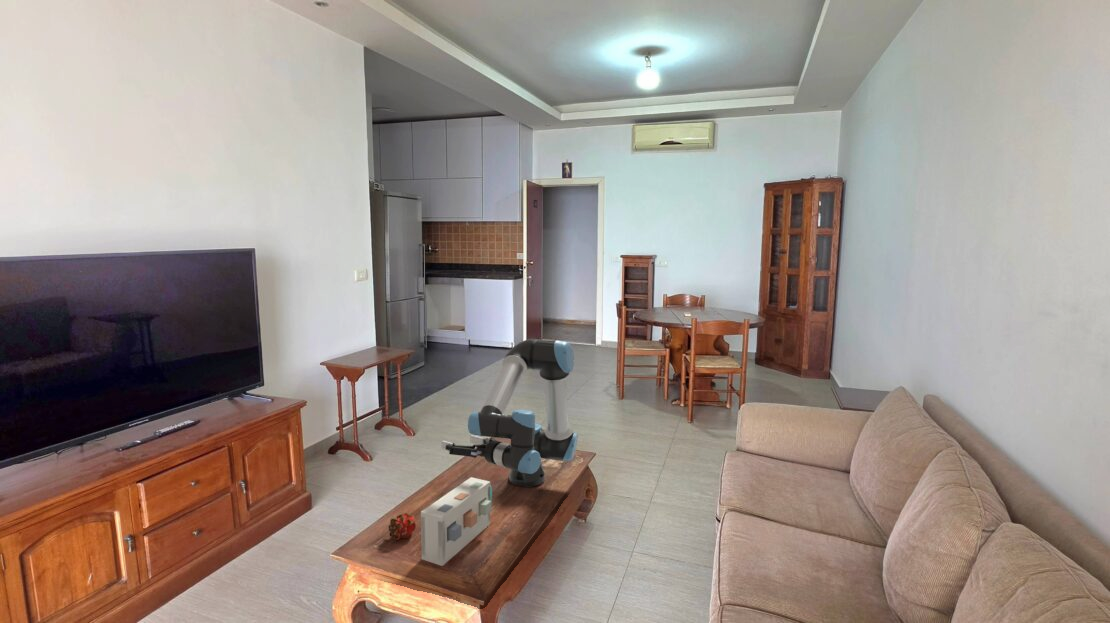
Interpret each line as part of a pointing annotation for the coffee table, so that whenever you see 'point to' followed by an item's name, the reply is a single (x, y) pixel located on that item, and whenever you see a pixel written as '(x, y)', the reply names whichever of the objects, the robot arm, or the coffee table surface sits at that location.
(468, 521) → the terracotta button
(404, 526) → the dragon fruit
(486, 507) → the sage button
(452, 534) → the slate button
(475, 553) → the coffee table surface
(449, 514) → the button box
